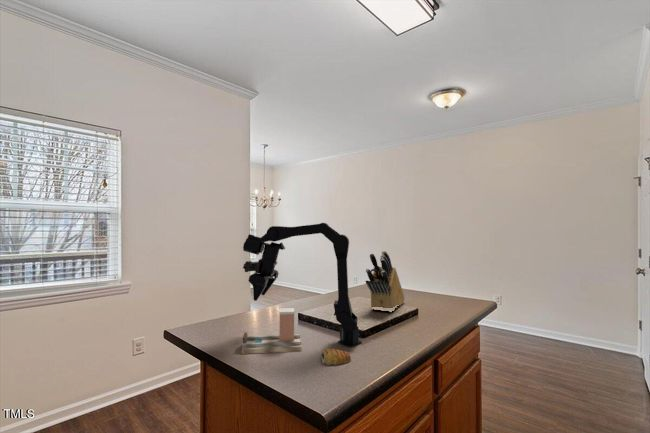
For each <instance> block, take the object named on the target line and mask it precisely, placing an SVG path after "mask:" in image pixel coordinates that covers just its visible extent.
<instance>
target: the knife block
mask: <svg viewBox="0 0 650 433" xmlns="http://www.w3.org/2000/svg"><path fill="white" fill-rule="evenodd" d="M369 259H370V262H371V263H372V265H373V268H371V269H370V268H366V269H365V273H366V274H367V277H368V279H369V280H365V284H366V285H367V288H368V290H369V291H370V306H371V307H383V308H393V307H395V306H396V305H400V306H402V305H403V304H404V301H405V295H404V292H403V289H402V285H401V282H400V278H399V276H398V271H397V269H396V267H393V265H392V261H391V258H390V255H389V254H388V252H387V251H386V250H382V251H381V255H380V258H379V261H380V263H381V266H379V265H378V261H377V258H376V256H375V254H374V253H371V254H369Z"/></svg>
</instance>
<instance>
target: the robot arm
mask: <svg viewBox="0 0 650 433" xmlns="http://www.w3.org/2000/svg"><path fill="white" fill-rule="evenodd" d="M316 234H322V235H323V237H325V238H327V239H328V240H329V241H330V242H331V243H332V246H333V251H334V254H335V259H336V269H337V274H336V275H337V293H338V294H337V295H338V297H337V298H338V299H337V300H334V303H333V308H334V313H333V316H334V317H335V318H336V321H337V322H338V323H340V328H339V340H337V343H338V344H340V345H343V346H346V347H347V348H348V347H349V348H351V347H354V346H357V345H360V344H362V341H361V340H360V339H359V336H360V335H359V333H360V332H359V326H358V319H359V318H358V316H357V315H356V314H355V313H354V312H353V309H352V304H351V303H352V302H351V300H350V297H349V296H350V295H349V279H348V278H349V277H348V254H349V247H350V239H349V237H348V236H347V235H345V234H341V233H339V232H337V231H336V230H335V229H334V228H332V226H330V225H329V224H328V223H327V222H321V223H315V224H314V223H313V224H307V225H299V226H284V225H283V226H280V225H272V226H269V227H268V229H267V230H266V232H265V234H264V235H263V236H261V237H260V236H256V235H254V234H248V236H247V238H246V239H245V241H244V242H243V246H242V250H243V252H246V253H250V254H253V255H256V256H258V255H259V254H262V255H261V258H260V259H258V261H251V260H250V261H249V260H248V261H247V260H246V261H245V263H243V266H242V269H243V270H244V273H248V272H254V273H252V274H250V275H249V276H248V277H249V278H248V279H247V280H248V282H249V283H250V284H251V285H252V288H253V289H252V290H253V294H252V295H253V301H256V302H257V301H258V299H259V298H260V296H265V295H266V294H267V293H268V291H269V289H270V288H271V287H272V285H273V284H274V283H275V282H276V280H277V279H278V278H279V277H278V276H279V271H278V270H276V269H275V267H276V266H277V265H278V261H277V260H278V255H279V252H280V251H281V250H282V251H283V250H285V249H286V247H285V246H284V245H285V244H283V242H280V243H277V242H279V241H282V240H283V241H284V240H286V239H290V238H292V237H298V236H299V237H300V236H301V237H302V236H309V235H316ZM268 242H270V243H268Z"/></svg>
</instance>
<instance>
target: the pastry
mask: <svg viewBox="0 0 650 433" xmlns="http://www.w3.org/2000/svg"><path fill="white" fill-rule="evenodd" d="M320 357H321V361H322V363H323V364H324V365H327V366H331V365H334V366H339V365H343V364H346V363H348V362H351V360H352V358H351V353H349V352H348V351H347V350H346V351H343V350H341V349H338V348H337V349H336V348H327V349H322V350H321V355H320Z"/></svg>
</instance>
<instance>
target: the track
mask: <svg viewBox="0 0 650 433" xmlns="http://www.w3.org/2000/svg"><path fill="white" fill-rule="evenodd" d="M241 346H242V347H241V354H242V355H246V354H247V355H249V354H264V353H265V354H266V353H284V352H285V353H286V352H302V340H301V334H300V333H299V334H298V333H296V334H295V333H294V341H284V342H280V334H275V335H273V334H272V335H252V336H249V335H248V332H244V333H243V336H242V345H241Z"/></svg>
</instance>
